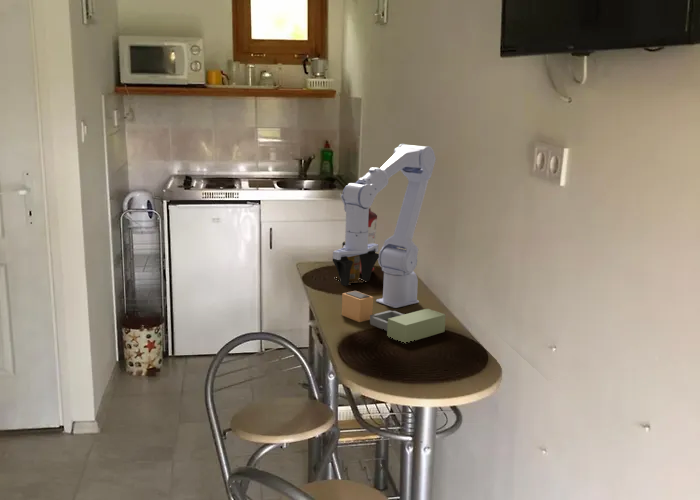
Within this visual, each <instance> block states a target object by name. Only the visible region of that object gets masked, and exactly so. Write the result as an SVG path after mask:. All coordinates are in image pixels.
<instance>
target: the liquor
mask: <svg viewBox="0 0 700 500" xmlns="http://www.w3.org/2000/svg"><path fill="white" fill-rule="evenodd" d="M371 209H372V208H371V206H369V216H368V244H372V243H374V244H376V237H377V235H376V234H377V223H378V214H376V213H375V212H374V211H373V210H371ZM373 271H375V266H374V267H373V270H372V272H373ZM360 275H361V261H360Z"/></svg>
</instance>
